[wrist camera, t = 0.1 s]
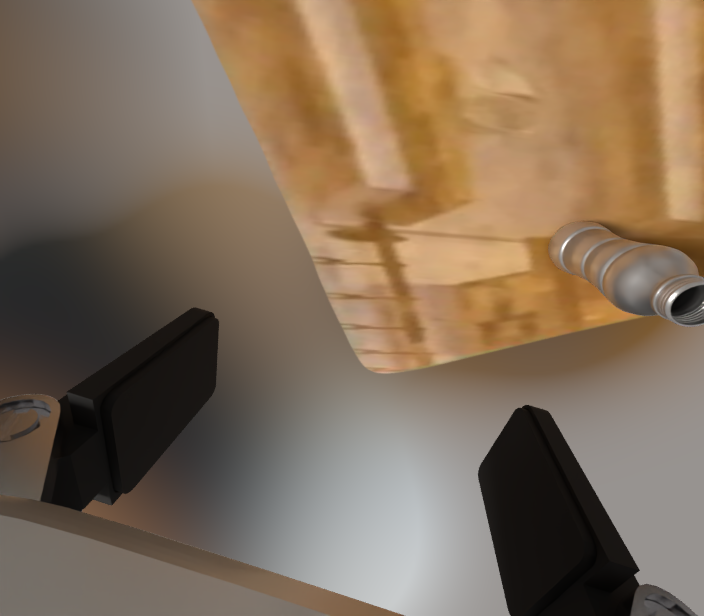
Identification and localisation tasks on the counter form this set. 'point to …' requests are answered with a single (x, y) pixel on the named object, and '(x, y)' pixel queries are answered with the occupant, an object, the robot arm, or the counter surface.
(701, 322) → the plastic bottle
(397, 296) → the counter surface
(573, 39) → the counter surface
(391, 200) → the counter surface
